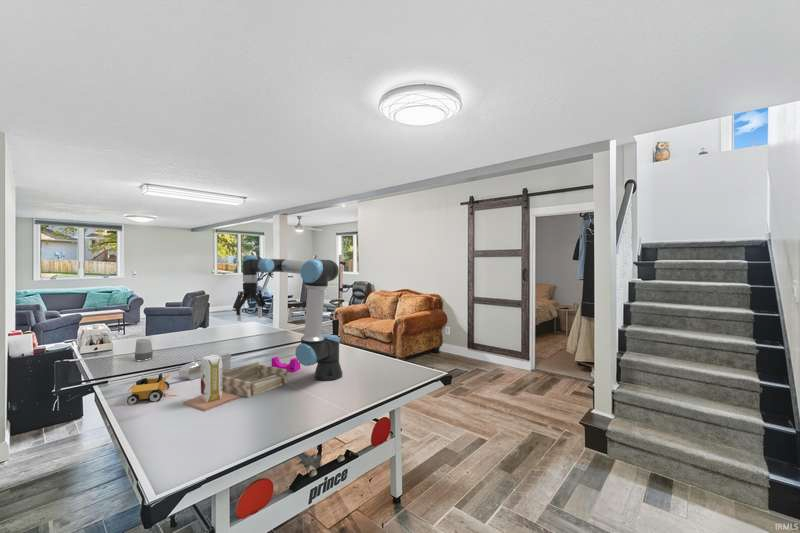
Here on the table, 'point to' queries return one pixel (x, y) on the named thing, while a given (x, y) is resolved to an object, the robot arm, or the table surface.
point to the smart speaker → (143, 349)
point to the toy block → (290, 367)
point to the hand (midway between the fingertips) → (250, 319)
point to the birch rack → (248, 377)
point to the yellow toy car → (148, 389)
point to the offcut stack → (265, 384)
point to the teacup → (225, 362)
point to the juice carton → (211, 378)
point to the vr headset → (191, 370)
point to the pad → (204, 406)
